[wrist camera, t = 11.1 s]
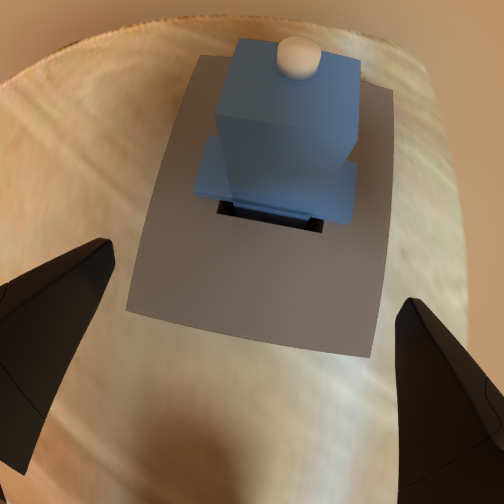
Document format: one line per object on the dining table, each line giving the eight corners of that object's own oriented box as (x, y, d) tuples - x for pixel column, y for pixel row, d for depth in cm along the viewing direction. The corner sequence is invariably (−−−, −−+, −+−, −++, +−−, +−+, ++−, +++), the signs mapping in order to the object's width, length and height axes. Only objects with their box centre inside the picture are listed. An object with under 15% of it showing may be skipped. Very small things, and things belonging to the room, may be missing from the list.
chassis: (350, 348, 21) (369, 358, 17) (147, 309, 21) (125, 310, 17) (376, 117, 23) (392, 90, 19) (207, 86, 24) (200, 55, 20)
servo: (332, 238, 22) (431, 149, 8) (205, 214, 22) (141, 94, 8) (338, 190, 22) (423, 65, 9) (217, 167, 23) (178, 20, 9)
